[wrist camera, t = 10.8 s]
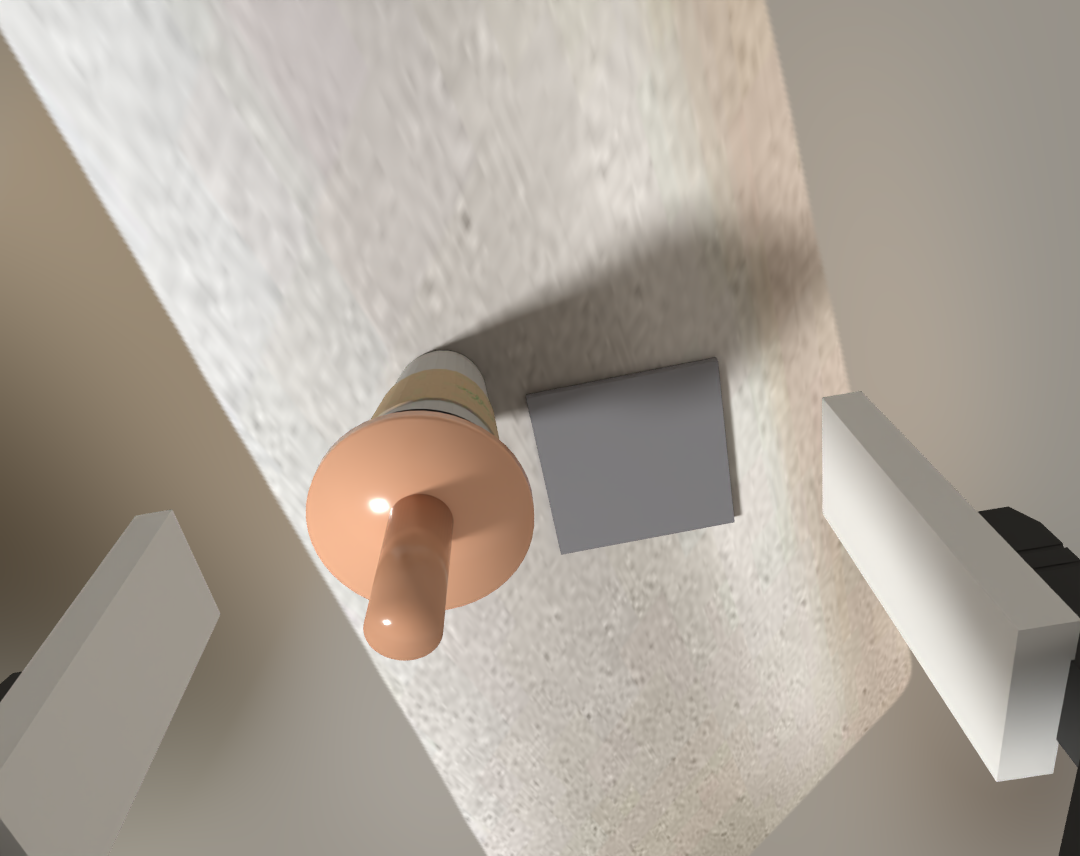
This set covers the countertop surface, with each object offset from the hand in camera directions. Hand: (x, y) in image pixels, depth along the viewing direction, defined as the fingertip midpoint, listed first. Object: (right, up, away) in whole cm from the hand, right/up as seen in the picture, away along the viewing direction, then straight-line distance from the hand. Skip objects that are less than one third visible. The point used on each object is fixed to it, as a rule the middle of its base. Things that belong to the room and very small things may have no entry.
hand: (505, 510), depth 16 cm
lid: (-5, -3, +24) cm, 25 cm away
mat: (+7, -1, +40) cm, 41 cm away
